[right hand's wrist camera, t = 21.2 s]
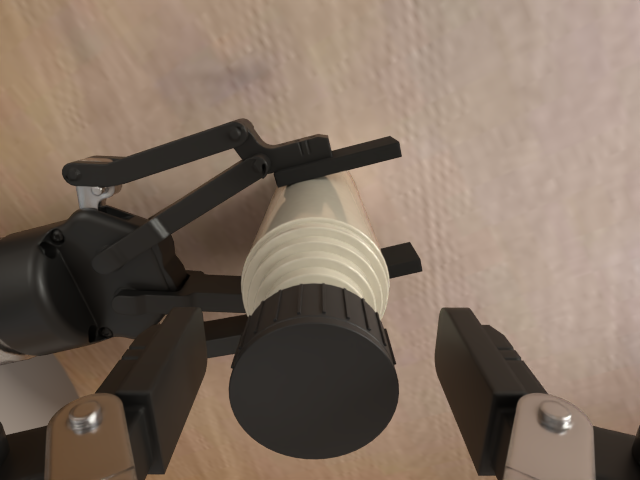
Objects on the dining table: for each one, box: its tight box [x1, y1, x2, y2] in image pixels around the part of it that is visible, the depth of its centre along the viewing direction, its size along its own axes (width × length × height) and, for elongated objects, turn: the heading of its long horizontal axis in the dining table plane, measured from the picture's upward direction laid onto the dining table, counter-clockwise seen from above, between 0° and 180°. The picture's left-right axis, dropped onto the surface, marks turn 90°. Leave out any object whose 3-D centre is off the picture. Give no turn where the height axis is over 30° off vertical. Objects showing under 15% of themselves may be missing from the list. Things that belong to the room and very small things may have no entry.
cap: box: [229, 283, 399, 459], centre depth 11 cm, size 4×4×2 cm
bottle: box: [241, 171, 390, 320], centre depth 20 cm, size 6×6×19 cm
